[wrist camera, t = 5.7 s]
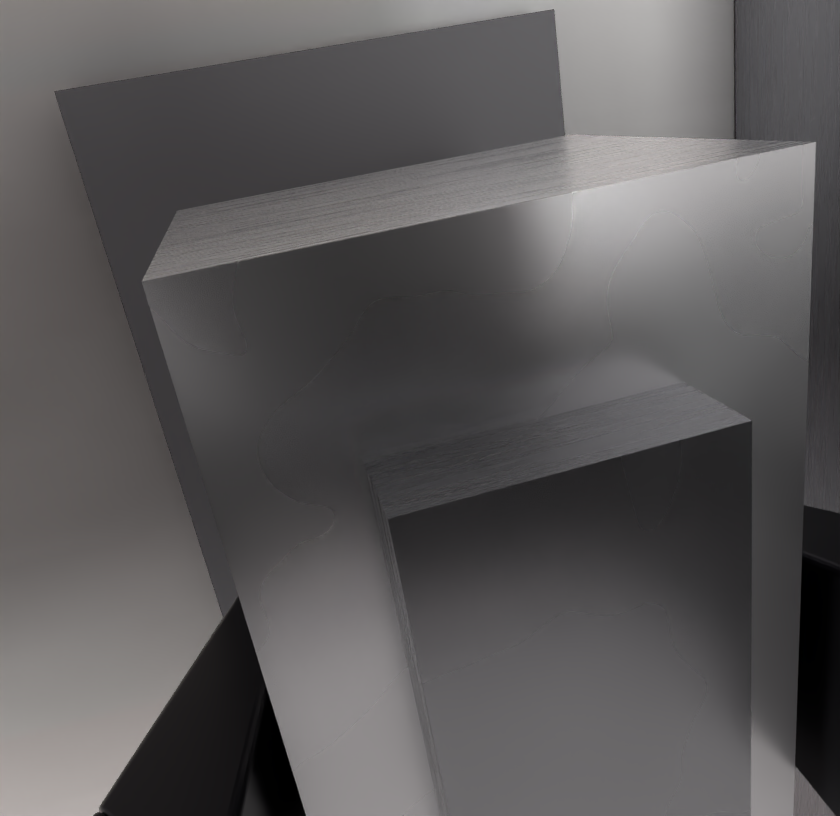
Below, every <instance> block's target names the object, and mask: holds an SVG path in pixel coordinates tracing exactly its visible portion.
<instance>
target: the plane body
mask: <svg viewBox="0 0 840 816" xmlns="http://www.w3.org/2000/svg"><path fill="white" fill-rule="evenodd" d="M735 65H736V140H768V141H801V142H816V153H815V183H814V213H813V243H812V272H811V302H810V332H809V362H808V392H807V421H806V451H805V481H804V505H805V506H810V507H814V508H819V509H823V510H828V511H832V512H836V513H840V0H735ZM793 816H835V815H834V814H833V812H832V811H831V810H830V809H829V807H828V806H827V805H826V804H825V803H824V801H823V800H822V799H821V798H820V796H819V795H818V794H817V793H816V791H815V790H814V789H813V788H812V786H811V785H810V784H809V783H808V781H807V780H806V779H805V778H804V776H803V775H802V774H801V773H800V771H799V770H798V769H797V768H796V767H795V779H794V809H793Z"/></svg>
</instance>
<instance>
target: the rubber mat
mask: <svg viewBox="0 0 840 816" xmlns="http://www.w3.org/2000/svg"><path fill="white" fill-rule="evenodd" d="M54 92H55V95H56V98H57V101H58V104H59V108H60V111H61V114H62V117H63V120H64V123H65V126H66V129H67V132H68V136H69V139H70V142H71V145H72V148H73V151H74V154H75V157H76V161H77V164H78V167H79V170H80V173H81V176H82V179H83V182H84V185H85V189H86V192H87V195H88V198H89V201H90V204H91V207H92V210H93V213H94V217H95V220H96V223H97V226H98V229H99V232H100V235H101V238H102V241H103V245H104V248H105V251H106V254H107V257H108V260H109V263H110V266H111V269H112V273H113V276H114V279H115V282H116V285H117V288H118V291H119V294H120V297H121V301H122V304H123V307H124V310H125V313H126V316H127V319H128V322H129V326H130V329H131V332H132V335H133V338H134V341H135V344H136V347H137V350H138V354H139V357H140V360H141V363H142V366H143V369H144V372H145V375H146V378H147V382H148V385H149V388H150V391H151V394H152V397H153V400H154V403H155V406H156V410H157V413H158V416H159V419H160V422H161V425H162V428H163V431H164V434H165V438H166V441H167V444H168V447H169V450H170V453H171V456H172V459H173V462H174V466H175V469H176V472H177V475H178V478H179V481H180V484H181V487H182V491H183V494H184V497H185V500H186V503H187V506H188V509H189V512H190V515H191V519H192V522H193V525H194V528H195V531H196V534H197V537H198V540H199V543H200V547H201V550H202V553H203V556H204V559H205V562H206V565H207V568H208V571H209V575H210V578H211V581H212V584H213V587H214V590H215V593H216V596H217V599H218V603H219V606H220V609H221V612H222V615H223V617H224V616H225V614H226V613H227V611H228V610H229V608H230V607H231V605H232V604H233V602H234V601H235V599H236V598H237V596H238V593H237V590H236V586H235V583H234V580H233V577H232V573H231V570H230V567H229V564H228V560H227V557H226V554H225V551H224V547H223V544H222V541H221V538H220V534H219V531H218V528H217V525H216V521H215V518H214V515H213V512H212V508H211V505H210V502H209V499H208V495H207V492H206V489H205V486H204V482H203V479H202V476H201V473H200V469H199V466H198V463H197V460H196V456H195V453H194V450H193V447H192V443H191V440H190V437H189V434H188V430H187V427H186V424H185V421H184V417H183V414H182V411H181V408H180V404H179V401H178V398H177V395H176V391H175V388H174V385H173V382H172V379H171V375H170V372H169V369H168V366H167V362H166V359H165V356H164V353H163V349H162V346H161V343H160V340H159V336H158V333H157V330H156V327H155V323H154V320H153V317H152V314H151V310H150V307H149V304H148V301H147V297H146V294H145V291H144V288H143V284H142V280H143V278H144V276H145V274H146V272H147V270H148V268H149V266H150V264H151V262H152V260H153V258H154V256H155V254H156V252H157V250H158V248H159V246H160V244H161V242H162V240H163V238H164V236H165V234H166V232H167V230H168V228H169V226H170V224H171V222H172V220H173V218H174V216H175V214H176V212H177V211H179V210H184V209H189V208H194V207H199V206H205V205H210V204H215V203H220V202H225V201H230V200H235V199H241V198H246V197H251V196H256V195H261V194H266V193H272V192H277V191H282V190H287V189H292V188H297V187H303V186H308V185H313V184H318V183H323V182H328V181H333V180H339V179H344V178H349V177H354V176H359V175H364V174H370V173H375V172H380V171H385V170H390V169H395V168H401V167H406V166H411V165H416V164H421V163H426V162H431V161H437V160H442V159H447V158H452V157H457V156H462V155H468V154H473V153H478V152H483V151H488V150H493V149H499V148H504V147H509V146H514V145H519V144H524V143H529V142H535V141H540V140H545V139H550V138H555V137H560V136H565V132H564V120H563V108H562V96H561V85H560V73H559V61H558V49H557V37H556V26H555V14H554V9H553V10H547V11H541V12H535V13H529V14H523V15H517V16H510V17H504V18H498V19H492V20H486V21H480V22H474V23H468V24H462V25H456V26H450V27H443V28H437V29H431V30H425V31H419V32H413V33H407V34H401V35H395V36H389V37H383V38H377V39H370V40H364V41H358V42H352V43H346V44H340V45H334V46H328V47H322V48H316V49H310V50H304V51H297V52H291V53H285V54H279V55H273V56H267V57H261V58H255V59H249V60H243V61H237V62H230V63H224V64H218V65H212V66H206V67H200V68H194V69H188V70H182V71H176V72H170V73H164V74H157V75H151V76H145V77H139V78H133V79H127V80H121V81H115V82H109V83H103V84H97V85H91V86H84V87H78V88H72V89H66V90H60V91H54Z"/></svg>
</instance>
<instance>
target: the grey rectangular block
mask: <svg viewBox="0 0 840 816" xmlns="http://www.w3.org/2000/svg"><path fill="white" fill-rule="evenodd" d="M815 153H816V142H801V141H768V140H735V139H702V138H669V137H636V136H603V135H566V136H560V137H555V138H550V139H545V140H540V141H535V142H529V143H524V144H519V145H514V146H509V147H504V148H499V149H493V150H488V151H483V152H478V153H473V154H468V155H462V156H457V157H452V158H447V159H442V160H437V161H431V162H426V163H421V164H416V165H411V166H406V167H401V168H395V169H390V170H385V171H380V172H375V173H370V174H364V175H359V176H354V177H349V178H344V179H339V180H333V181H328V182H323V183H318V184H313V185H308V186H303V187H297V188H292V189H287V190H282V191H277V192H272V193H266V194H261V195H256V196H251V197H246V198H241V199H235V200H230V201H225V202H220V203H215V204H210V205H205V206H199V207H194V208H189V209H184V210H179V211H177V212H176V214H175V216H174V218H173V220H172V222H171V224H170V226H169V228H168V230H167V232H166V234H165V236H164V238H163V240H162V242H161V244H160V246H159V248H158V250H157V252H156V254H155V256H154V258H153V260H152V262H151V264H150V266H149V268H148V270H147V272H146V274H145V276H144V278H143V280H142V284H143V288H144V291H145V294H146V297H147V301H148V304H149V307H150V310H151V314H152V317H153V320H154V323H155V327H156V330H157V333H158V336H159V340H160V343H161V346H162V349H163V353H164V356H165V359H166V362H167V366H168V369H169V372H170V375H171V379H172V382H173V385H174V388H175V391H176V395H177V398H178V401H179V404H180V408H181V411H182V414H183V417H184V421H185V424H186V427H187V430H188V434H189V437H190V440H191V443H192V447H193V450H194V453H195V456H196V460H197V463H198V466H199V469H200V473H201V476H202V479H203V482H204V486H205V489H206V492H207V495H208V499H209V502H210V505H211V508H212V512H213V515H214V518H215V521H216V525H217V528H218V531H219V534H220V538H221V541H222V544H223V547H224V551H225V554H226V557H227V560H228V564H229V567H230V570H231V573H232V577H233V580H234V583H235V586H236V590H237V593H238V596H239V599H240V603H241V606H242V609H243V612H244V616H245V619H246V622H247V625H248V629H249V632H250V635H251V638H252V642H253V645H254V648H255V651H256V655H257V658H258V661H259V664H260V668H261V671H262V674H263V677H264V681H265V684H266V687H267V690H268V694H269V697H270V700H271V703H272V707H273V710H274V713H275V716H276V720H277V723H278V726H279V729H280V733H281V736H282V739H283V742H284V746H285V749H286V752H287V755H288V759H289V762H290V765H291V768H292V772H293V775H294V778H295V781H296V785H297V788H298V791H299V794H300V798H301V801H302V804H303V807H304V810H305V814H306V816H793V809H794V779H795V749H796V719H797V690H798V660H799V630H800V600H801V570H802V541H803V511H804V481H805V451H806V421H807V392H808V362H809V332H810V302H811V272H812V243H813V213H814V183H815Z"/></svg>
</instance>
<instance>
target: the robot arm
mask: <svg viewBox="0 0 840 816" xmlns="http://www.w3.org/2000/svg"><path fill="white" fill-rule="evenodd" d="M795 767H796V768H797V769H798V770H799V771H800V773H801V774H802V775H803V776H804V778H805V779H806V780H807V781H808V783H809V784H810V785H811V786H812V788H813V789H814V790H815V791H816V793H817V794H818V795H819V796H820V798H821V799H822V800H823V801H824V803H825V804H826V805H827V806H828V807H829V809H830V810H831V811H832V812H833V814H834V815H835V816H840V513H836V512H832V511H828V510H823V509H819V508H814V507H810V506H805V505H804V511H803V541H802V570H801V600H800V630H799V660H798V690H797V719H796V749H795ZM93 816H306V814H305V810H304V807H303V804H302V801H301V798H300V794H299V791H298V788H297V785H296V781H295V778H294V775H293V772H292V768H291V765H290V762H289V759H288V755H287V752H286V749H285V746H284V742H283V739H282V736H281V733H280V729H279V726H278V723H277V720H276V716H275V713H274V710H273V707H272V703H271V700H270V697H269V694H268V690H267V687H266V684H265V681H264V677H263V674H262V671H261V668H260V664H259V661H258V658H257V655H256V651H255V648H254V645H253V642H252V638H251V635H250V632H249V629H248V625H247V622H246V619H245V616H244V612H243V609H242V606H241V603H240V599H239V596H237V598H236V599H235V601H234V602H233V604H232V605H231V607H230V608H229V610H228V611H227V613H226V614H225V616H224V617H223V619H222V620H221V622H220V624H219V625H218V627H217V628H216V630H215V631H214V633H213V634H212V636H211V637H210V639H209V640H208V642H207V643H206V645H205V646H204V648H203V649H202V651H201V653H200V654H199V656H198V657H197V659H196V660H195V662H194V663H193V665H192V666H191V668H190V669H189V671H188V672H187V674H186V675H185V677H184V678H183V680H182V682H181V683H180V685H179V686H178V688H177V689H176V691H175V692H174V694H173V695H172V697H171V698H170V700H169V701H168V703H167V704H166V706H165V707H164V709H163V711H162V712H161V714H160V715H159V717H158V718H157V720H156V721H155V723H154V724H153V726H152V727H151V729H150V730H149V732H148V733H147V735H146V736H145V738H144V740H143V741H142V743H141V744H140V746H139V747H138V749H137V750H136V752H135V753H134V755H133V756H132V758H131V759H130V761H129V762H128V764H127V765H126V767H125V769H124V770H123V772H122V773H121V775H120V776H119V778H118V779H117V781H116V782H115V784H114V785H113V787H112V788H111V790H110V791H109V793H108V794H107V796H106V798H105V799H104V801H103V802H102V804H101V805H100V807H99V812H98V813H95V814H94V815H93Z"/></svg>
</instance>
